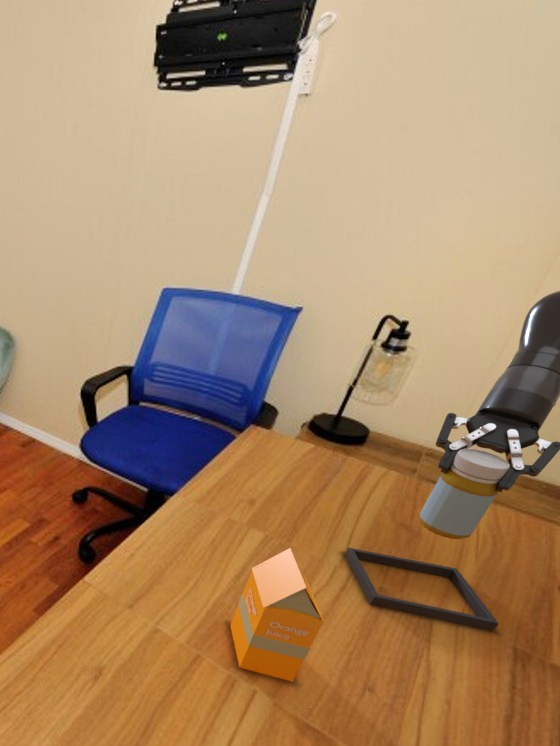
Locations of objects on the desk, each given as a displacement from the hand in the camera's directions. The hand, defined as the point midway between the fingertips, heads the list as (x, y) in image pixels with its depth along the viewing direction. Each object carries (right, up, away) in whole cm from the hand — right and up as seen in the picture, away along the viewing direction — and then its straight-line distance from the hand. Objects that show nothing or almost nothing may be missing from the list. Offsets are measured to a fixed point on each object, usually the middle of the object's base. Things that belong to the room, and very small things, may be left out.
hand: (470, 480), depth 85 cm
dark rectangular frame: (+1, -23, +11) cm, 26 cm away
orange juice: (-36, -30, 0) cm, 47 cm away
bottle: (+2, -10, +6) cm, 12 cm away
